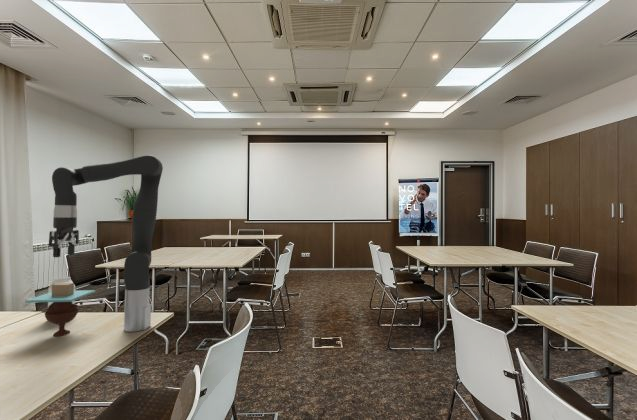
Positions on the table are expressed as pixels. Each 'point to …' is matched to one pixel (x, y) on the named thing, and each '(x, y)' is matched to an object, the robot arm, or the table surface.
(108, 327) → the table surface
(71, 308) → the ice cream bowl
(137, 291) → the robot arm
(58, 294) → the teal square mat
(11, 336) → the table surface
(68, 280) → the milk carton
